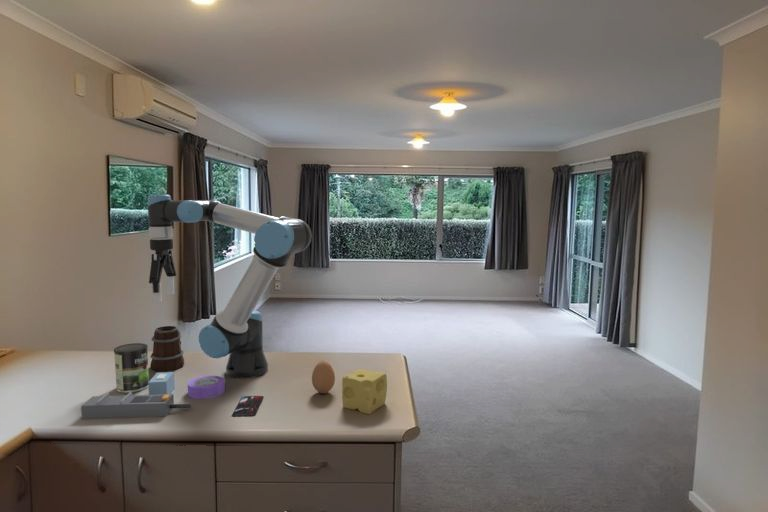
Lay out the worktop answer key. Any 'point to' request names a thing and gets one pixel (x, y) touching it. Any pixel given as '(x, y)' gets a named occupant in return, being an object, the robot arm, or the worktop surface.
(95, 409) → the power strip
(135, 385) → the coffee can
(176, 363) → the mug
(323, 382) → the egg
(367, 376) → the cheese
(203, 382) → the masking tape
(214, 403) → the worktop surface
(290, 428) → the worktop surface
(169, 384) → the block
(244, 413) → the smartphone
